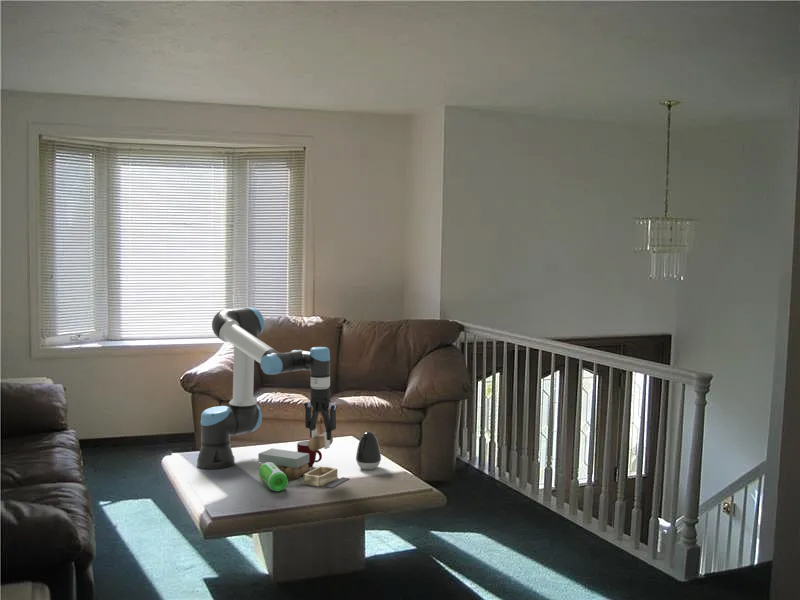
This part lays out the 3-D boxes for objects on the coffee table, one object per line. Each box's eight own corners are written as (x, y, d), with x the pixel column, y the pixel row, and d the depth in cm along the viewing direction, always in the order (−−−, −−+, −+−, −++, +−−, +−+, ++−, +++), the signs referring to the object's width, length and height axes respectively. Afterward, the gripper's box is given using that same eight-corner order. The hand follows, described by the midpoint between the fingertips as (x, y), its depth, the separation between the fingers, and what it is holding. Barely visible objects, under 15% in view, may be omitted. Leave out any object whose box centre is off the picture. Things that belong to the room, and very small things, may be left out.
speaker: (257, 480, 285) (257, 461, 285) (276, 478, 288) (276, 459, 288) (269, 494, 269) (269, 473, 269) (288, 491, 272) (288, 471, 272)
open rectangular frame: (302, 483, 281) (302, 474, 281) (320, 474, 293) (320, 465, 293) (320, 486, 278) (320, 477, 278) (338, 477, 290) (338, 468, 289)
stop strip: (325, 487, 277) (325, 486, 277) (342, 477, 289) (342, 477, 289) (332, 488, 276) (332, 487, 276) (349, 478, 287) (349, 478, 287)
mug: (325, 465, 306) (325, 441, 305) (319, 470, 298) (319, 446, 297) (301, 463, 308) (301, 440, 308) (294, 469, 300) (294, 445, 300)
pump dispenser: (351, 470, 299) (351, 433, 298) (362, 463, 309) (362, 427, 308) (374, 473, 295) (374, 435, 294) (384, 466, 305) (384, 430, 304)
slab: (258, 462, 292) (258, 453, 292) (271, 456, 300) (271, 448, 300) (296, 468, 284) (296, 459, 284) (309, 462, 293) (309, 453, 292)
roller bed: (258, 475, 292) (258, 462, 292) (273, 468, 301) (273, 456, 301) (295, 481, 285) (294, 468, 284) (309, 474, 294) (309, 461, 293)
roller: (307, 450, 281) (308, 437, 281) (321, 444, 290) (322, 431, 290) (319, 452, 279) (319, 439, 279) (332, 446, 288) (333, 433, 288)
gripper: (295, 387, 284) (295, 447, 285) (335, 390, 276) (335, 452, 277) (305, 384, 291) (306, 442, 292) (345, 387, 283) (345, 447, 284)
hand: (320, 447), depth 285 cm, fingers closed on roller, 5 cm apart
